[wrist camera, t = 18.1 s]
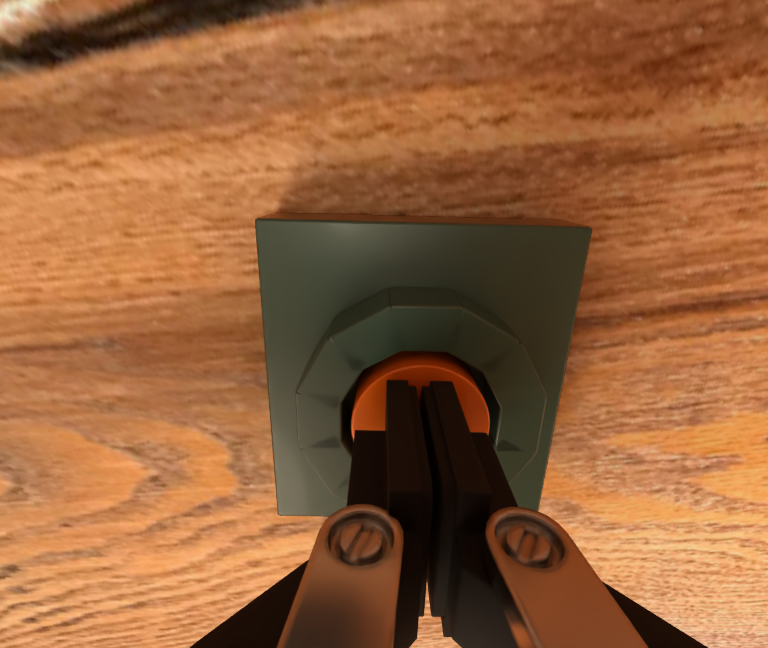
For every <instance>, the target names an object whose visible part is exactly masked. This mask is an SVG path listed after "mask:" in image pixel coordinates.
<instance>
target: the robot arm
mask: <svg viewBox="0 0 768 648" xmlns="http://www.w3.org/2000/svg"><path fill="white" fill-rule="evenodd" d="M426 583H428V592H429V601H430V609H431V615H432V617H441V620H442V628H443V635H444V637H452V639H453V640H454V641H455V642H456V643H457V644H459V645H460V646H461V647H462V648H708V647H706V646H704V645H703V644H701V643H700V642H698V641H696V640H695V639H693V638H692V637H690V636H688V635H687V634H685V633H684V632H682V631H680V630H679V629H677V628H676V627H674V626H672V625H671V624H669V623H668V622H666V621H664V620H663V619H661V618H660V617H658V616H656V615H655V614H653V613H652V612H650V611H649V610H647V609H645V608H644V607H642V606H641V605H639V604H637V603H636V602H634V601H633V600H631V599H629V598H628V597H626V596H625V595H623V594H621V593H620V592H618V591H617V590H615V589H613V588H612V587H610V586H609V585H607V584H605V583H604V582H602V581H601V580H600V578H599V577H598V576H597V574H596V573H595V571H594V570H593V568H592V567H591V566H590V564H589V563H588V561H587V560H586V559H585V557H584V556H583V554H582V553H581V552H580V550H579V549H578V547H577V546H576V544H575V543H574V542H573V540H572V539H571V537H570V536H569V535H568V533H567V532H566V531H565V530H564V529H563V528H562V527H561V526H560V525H559V524H558V523H557V522H555V521H554V520H553V519H551V518H550V517H549V516H547V515H545V514H542V513H540V512H538V511H536V510H533V509H529V508H524V507H518V505H517V502H516V500H515V497H514V495H513V493H512V490H511V488H510V486H509V483H508V481H507V478H506V476H505V474H504V471H503V469H502V466H501V464H500V462H499V459H498V457H497V455H496V452H495V450H494V447H493V445H492V443H491V440H490V438H489V436H488V434H487V433H485V432H470V430H469V427H468V424H467V421H466V418H465V415H464V413H463V410H462V407H461V404H460V401H459V398H458V396H457V393H456V390H455V387H454V384H453V382H452V381H430V385H429V386H422V391H421V406H420V407H419V401H418V395H417V389H416V386H408V380H387V382H386V413H385V431H382V430H355V434H354V443H353V452H352V461H351V471H350V480H349V489H348V498H347V507H344V508H342V509H340V510H338V511H336V512H334V513H333V514H332V515H331V516H329V517H328V518H327V519H326V520H325V522H324V523H323V525H322V527H321V529H320V531H319V533H318V536H317V539H316V542H315V544H314V547H313V550H312V552H311V555H310V558H309V560H307V561H306V562H305V563H303V564H302V565H301V566H299V567H298V568H297V569H295V570H294V571H292V572H291V573H290V574H288V575H287V576H286V577H284V578H283V579H282V580H280V581H279V582H278V583H276V584H275V585H273V586H272V587H271V588H269V589H268V590H267V591H265V592H264V593H263V594H261V595H260V596H259V597H257V598H256V599H254V600H253V601H252V602H250V603H249V604H248V605H246V606H245V607H244V608H242V609H241V610H240V611H238V612H237V613H235V614H234V615H233V616H231V617H230V618H229V619H227V620H226V621H225V622H223V623H222V624H220V625H219V626H218V627H216V628H215V629H214V630H212V631H211V632H210V633H208V634H207V635H206V636H204V637H203V638H201V639H200V640H199V641H197V642H196V643H195V644H194V645H192V646H191V647H190V648H409V647H410V646H411V645H412V643H413V642H414V641H415V640H416V639H417V632H418V618H419V616H421V617H423V616H424V607H425V595H426Z"/></svg>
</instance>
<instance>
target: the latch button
mask: <svg viewBox="0 0 768 648" xmlns="http://www.w3.org/2000/svg"><path fill="white" fill-rule="evenodd" d="M387 380H408V386H416V389H417V395H418V401H419V407H420V406H421V391H422V386H429V385H430V381H452V382H453V384H454V387H455V390H456V393H457V396H458V398H459V401H460V404H461V407H462V410H463V413H464V415H465V418H466V421H467V424H468V427H469V430H470V432H485V433H487V434H489V429H490V417H489V411H488V407H487V404H486V402H485V399H484V397H483V395H482V393H481V391H480V389H479V386H478V384H477V382H476V380H475V378H474V375H473V373H472V371H471V369H470V368H469V366H468V364H467V363H465V362H463V361H462V360H460V359H458V358H457V357H455V356H453V355H451V354H450V353H448V352H430V351H400V352H398V353H396V354H394V355H392V356H390V357H388V358H386V359H384V360H382V361H380V362H378V363H376V364H374V365H372V366H370V367H368V368H366V369H364V370H363V371H362V373H361V374H360V376H359V378H358V380H357V384H356V389H355V396H354V403H353V411H352V418H351V434H352V438H353V442H354V434H355V430H382V431H385V413H386V382H387Z"/></svg>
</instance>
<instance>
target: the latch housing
mask: <svg viewBox="0 0 768 648" xmlns="http://www.w3.org/2000/svg"><path fill="white" fill-rule="evenodd" d="M255 229H256V242H257V255H258V268H259V280H260V293H261V306H262V319H263V331H264V344H265V357H266V370H267V382H268V395H269V408H270V421H271V433H272V446H273V459H274V472H275V485H276V497H277V510H278V515H280V516H331V515H332V514H333V513H334V512H336V511H338V510H340V509H342V508H344V507H347V498H348V489H349V480H350V471H351V461H352V452H353V443H354V442H353V438H352V434H351V418H352V411H353V403H354V396H355V389H356V384H357V380H358V378H359V376H360V374H361V373H362V371H363V370H364V369H366V368H368V367H370V366H372V365H374V364H376V363H378V362H380V361H382V360H384V359H386V358H388V357H390V356H392V355H394V354H396V353H398V352H400V351H430V352H448V353H450V354H451V355H453V356H455V357H457V358H458V359H460V360H462V361H463V362H465V363H467V364H468V366H469V368H470V369H471V371H472V373H473V375H474V378H475V380H476V382H477V384H478V386H479V389H480V391H481V393H482V395H483V397H484V399H485V402H486V404H487V407H488V411H489V417H490V429H489V434H488V436H489V438H490V440H491V443H492V445H493V447H494V450H495V452H496V455H497V457H498V459H499V462H500V464H501V466H502V469H503V471H504V474H505V476H506V478H507V481H508V483H509V486H510V488H511V490H512V493H513V495H514V497H515V500H516V502H517V505H518V507H524V508H529V509H533V510H536V511H538V510H539V504H540V499H541V494H542V489H543V484H544V478H545V473H546V468H547V463H548V457H549V452H550V447H551V442H552V437H553V431H554V426H555V421H556V416H557V411H558V405H559V400H560V395H561V390H562V384H563V379H564V374H565V369H566V364H567V358H568V353H569V348H570V343H571V337H572V332H573V327H574V322H575V317H576V311H577V306H578V301H579V296H580V291H581V285H582V280H583V275H584V270H585V264H586V259H587V254H588V249H589V244H590V238H591V233H592V228H591V227H589V226H585V225H580V224H576V223H571V222H567V221H562V220H552V219H513V218H475V217H437V216H398V215H360V214H321V213H283V212H276V213H273V214H270V215H266V216H263V217H259V218H257V219H255Z"/></svg>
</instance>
